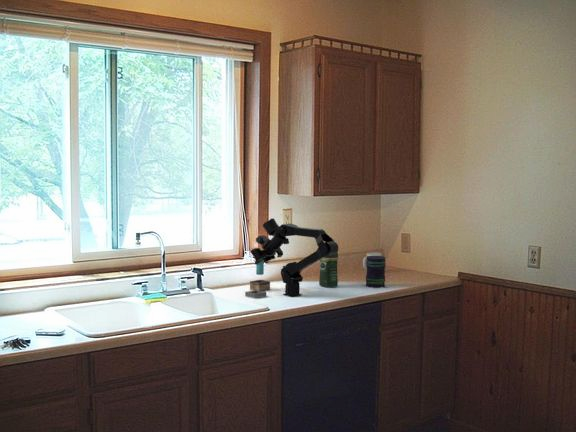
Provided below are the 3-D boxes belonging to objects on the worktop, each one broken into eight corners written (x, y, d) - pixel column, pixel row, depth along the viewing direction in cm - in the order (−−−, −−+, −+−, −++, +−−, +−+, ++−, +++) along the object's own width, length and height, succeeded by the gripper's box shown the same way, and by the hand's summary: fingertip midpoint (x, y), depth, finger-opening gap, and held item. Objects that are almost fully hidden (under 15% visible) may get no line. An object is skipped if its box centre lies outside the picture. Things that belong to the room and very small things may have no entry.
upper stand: (269, 290, 318) (270, 281, 317) (259, 291, 313) (259, 283, 313) (260, 288, 323) (260, 279, 322) (249, 289, 318) (249, 281, 318)
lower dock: (266, 296, 301) (266, 292, 301) (254, 298, 297) (254, 294, 296) (256, 294, 307) (256, 290, 306) (245, 296, 302) (245, 291, 302)
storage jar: (388, 285, 333) (388, 256, 332) (380, 288, 325) (380, 259, 324) (370, 283, 338) (371, 255, 337) (362, 286, 330) (362, 257, 329)
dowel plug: (265, 274, 317) (265, 254, 316) (259, 275, 315) (259, 254, 314) (260, 273, 320) (260, 253, 319) (254, 274, 317) (254, 253, 316)
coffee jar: (340, 287, 327) (341, 250, 326) (327, 288, 323) (328, 251, 322) (329, 284, 336) (329, 248, 334) (316, 285, 331) (317, 249, 330)
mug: (374, 270, 381) (374, 252, 380) (384, 272, 374) (384, 253, 373) (358, 272, 375) (358, 253, 374) (367, 274, 368) (368, 255, 367)
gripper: (278, 229, 320) (261, 249, 328) (253, 231, 306) (236, 252, 313) (291, 246, 316) (273, 266, 324) (266, 249, 302) (248, 270, 309)
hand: (257, 263), depth 318 cm, fingers closed on dowel plug, 4 cm apart
